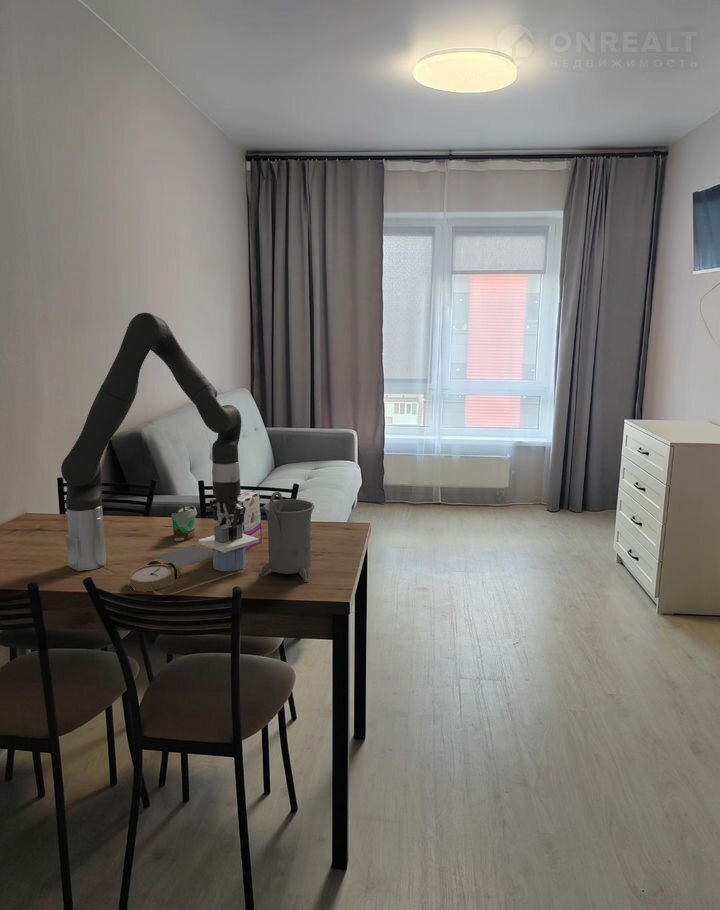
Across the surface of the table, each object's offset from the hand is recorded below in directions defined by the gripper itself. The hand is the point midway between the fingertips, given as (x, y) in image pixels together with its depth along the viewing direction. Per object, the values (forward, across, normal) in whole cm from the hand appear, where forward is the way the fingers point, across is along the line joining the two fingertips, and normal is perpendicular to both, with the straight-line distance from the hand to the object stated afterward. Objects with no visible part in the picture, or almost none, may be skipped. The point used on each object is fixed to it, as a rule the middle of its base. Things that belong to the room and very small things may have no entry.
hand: (228, 537), depth 190 cm
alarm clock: (+9, -5, -20) cm, 22 cm away
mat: (+9, -16, -3) cm, 18 cm away
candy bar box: (+9, -10, +14) cm, 19 cm away
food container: (+9, -31, +7) cm, 33 cm away
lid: (+1, 0, 0) cm, 1 cm away
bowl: (+9, 0, 0) cm, 9 cm away
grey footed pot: (+9, +17, +7) cm, 20 cm away
